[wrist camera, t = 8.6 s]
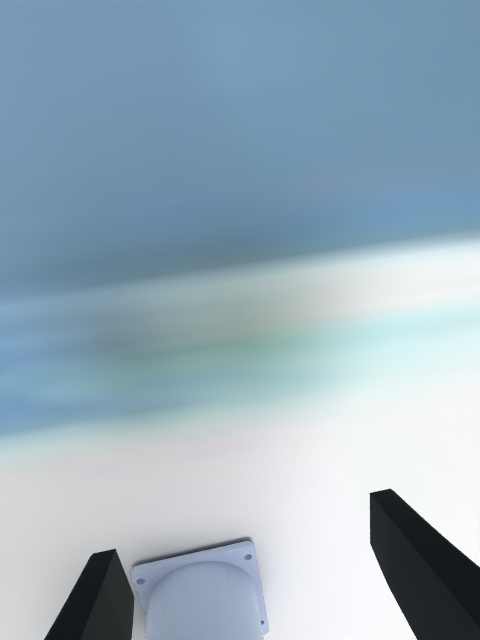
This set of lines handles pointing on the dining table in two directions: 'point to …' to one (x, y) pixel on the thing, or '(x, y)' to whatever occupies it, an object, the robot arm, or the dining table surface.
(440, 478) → the dining table surface
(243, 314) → the dining table surface
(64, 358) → the dining table surface
